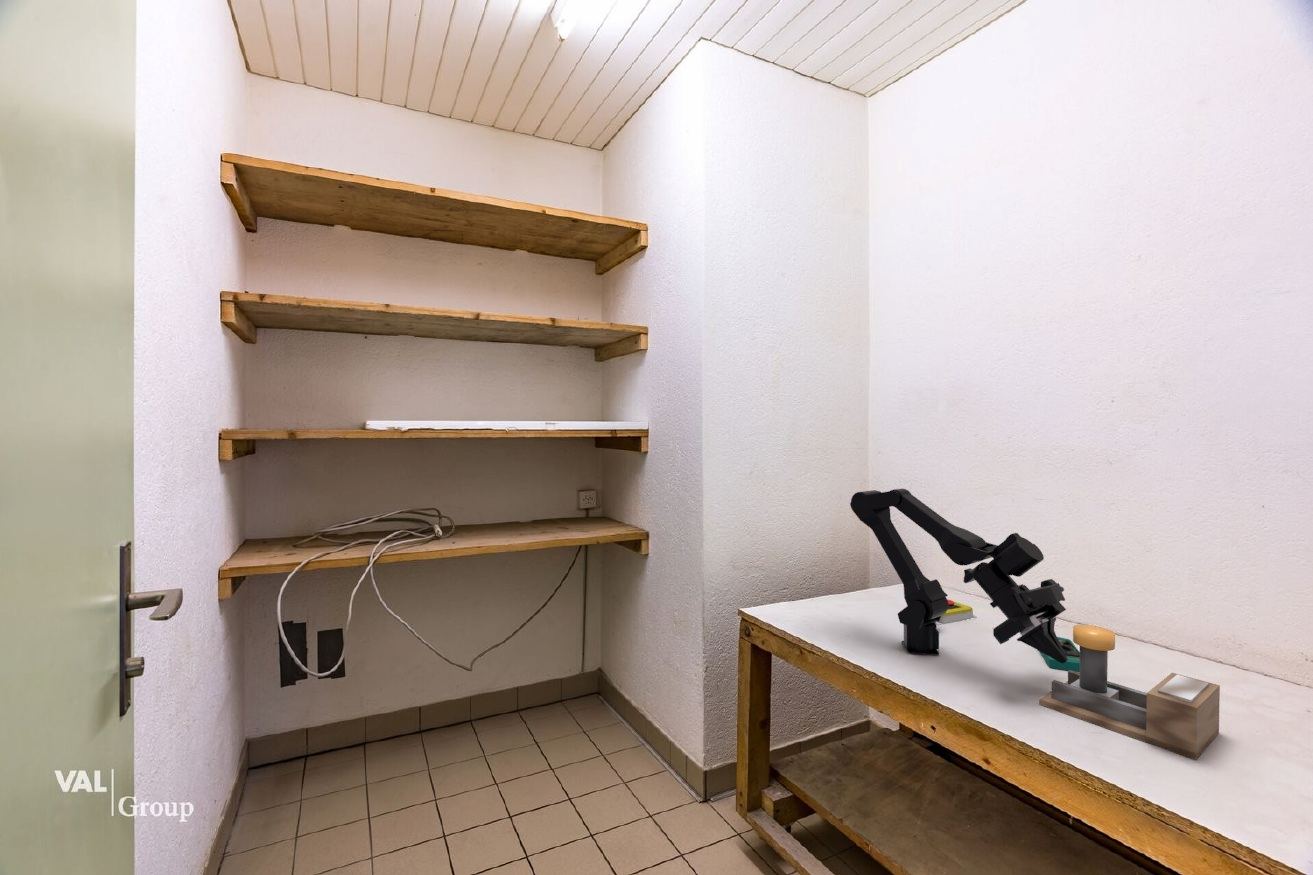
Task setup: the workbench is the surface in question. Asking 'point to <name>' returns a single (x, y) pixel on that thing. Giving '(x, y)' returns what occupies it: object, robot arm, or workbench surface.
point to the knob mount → (1148, 711)
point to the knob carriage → (1094, 658)
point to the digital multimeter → (1071, 655)
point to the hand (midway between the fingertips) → (1065, 661)
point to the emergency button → (956, 613)
